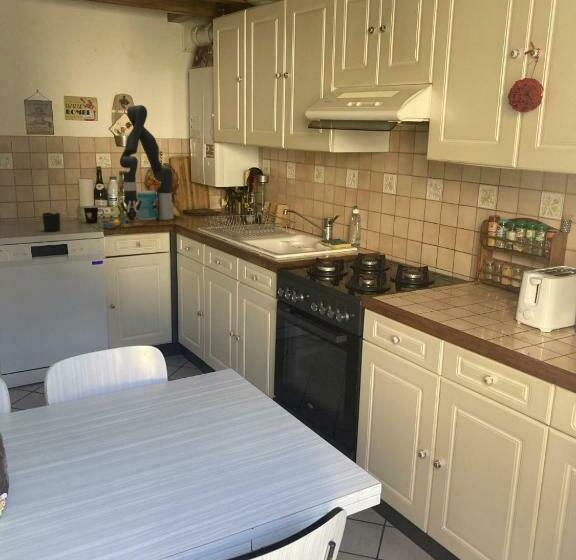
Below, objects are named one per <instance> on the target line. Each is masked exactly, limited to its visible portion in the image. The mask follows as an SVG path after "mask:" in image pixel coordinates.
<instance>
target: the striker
mask: <svg viewBox="0 0 576 560" xmlns="http://www.w3.org/2000/svg"><path fill="white" fill-rule="evenodd" d="M129 212H130V218H127V219H126V217H127V216H123V215H120V216H119V221H120V223H123V224H131V223H138V221H139V219H136V218H134V208H132V207H130V209H129Z"/></svg>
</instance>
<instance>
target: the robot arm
mask: <svg viewBox="0 0 576 560" xmlns="http://www.w3.org/2000/svg"><path fill="white" fill-rule="evenodd" d="M126 115H127V118H128V121H129V122H130V123H131V125H132V129H131V131H130V132H129V133H128V136H127V138H126V142H125V147H124V150H123V152H122V154H121V156H120V158H119V165H120V167H121V168H123V169H129V171H125V172H124V173H123V197H124V198H123V200H122V201H119V205H120V207H121V209H122V210H123V211H124V212H126V213H125V214H126V217H127V219H129V218H130V212H129V209H130V208H134V219H136V217H137V212H138V210H139V208H140V206H141V203H142V201H139V200H138V199H137V192H138V191H137V190H138V188H137V179H136V176H137V175H136V173H137V170H138V166H139V161H138V158H137V157H136V156H133V155H134V154H137V152H138V149H139V148H138V147H139V144H141V147H142V149H143V151H144V154H145V155H146V158H147V161H148V162H149V166H150V168H151V171H152V174H153V177H154V178H155V180H156V181H157V182H159V183H160V185H159V187H157V188H156V204H157V220H160V221H161V220H163V221H167V220H168V221H169V220H173V219H174V204H173V203H172V202H173V201H172V189H173V181H174V180H173V179H174V178H173V172H172V171H173V170H171V169H170V168H168V167H163V166H162V165H163V164H162V163H161V161H160V157H159V154H160V149H159V144H158V142H157V139H156V138H155V136H154V135H153V134H152V133H151V132H150V131H149V130H148V129H147V128H146V127H145V123H146V121H147V117H148V109H147V107H146V106H145V105H143V104H137V105H131V106H129V107H127V109H126ZM131 155H132V156H131Z"/></svg>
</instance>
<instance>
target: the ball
mask: <svg viewBox="0 0 576 560" xmlns="http://www.w3.org/2000/svg"><path fill="white" fill-rule="evenodd" d="M112 223H114V227H119V226H121V225H120V219H114V221H113V222H112Z"/></svg>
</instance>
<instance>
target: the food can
mask: <svg viewBox="0 0 576 560" xmlns="http://www.w3.org/2000/svg"><path fill="white" fill-rule="evenodd" d="M137 199H138V200H139V201H142V203H141V206H140V208H139V210H137V218H138V219H137V220H138V221H156V220H158V206H157V190H138V191H137Z"/></svg>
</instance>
